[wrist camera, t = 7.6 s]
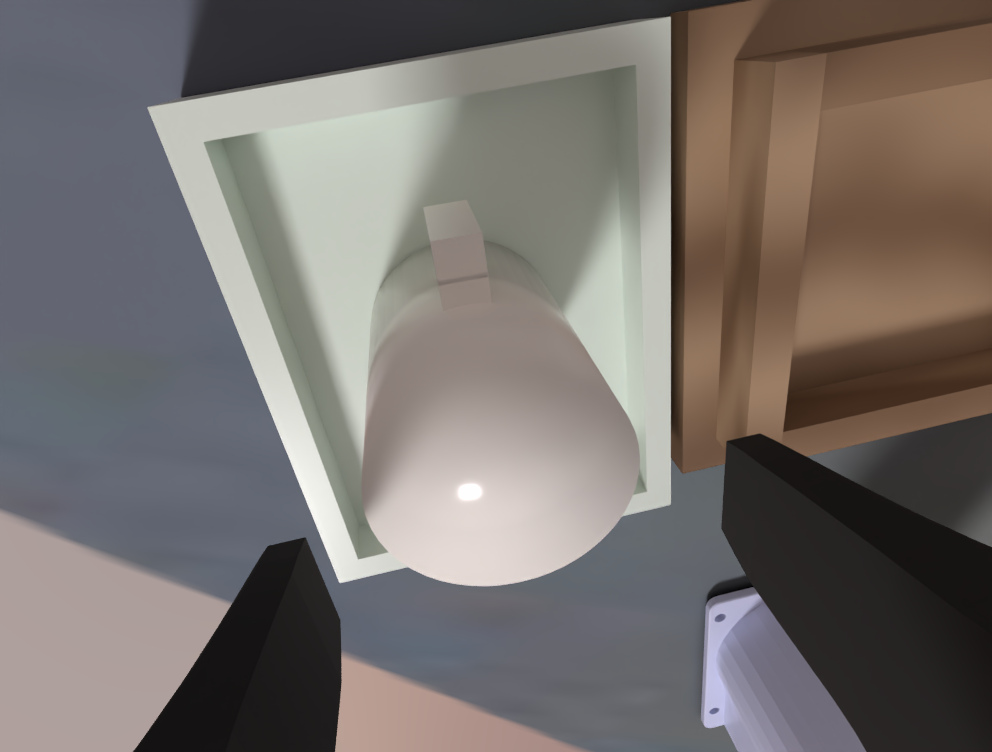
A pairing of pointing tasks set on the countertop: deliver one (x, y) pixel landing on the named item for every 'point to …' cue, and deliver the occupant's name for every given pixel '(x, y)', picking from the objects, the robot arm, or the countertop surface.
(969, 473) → the countertop surface
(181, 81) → the countertop surface
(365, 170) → the tray
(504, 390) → the white rounded piece
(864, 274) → the tray
